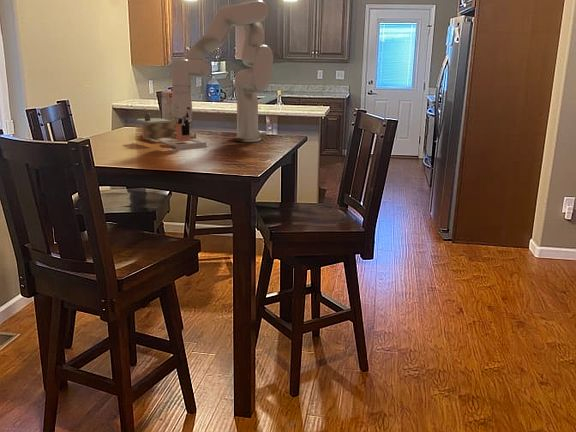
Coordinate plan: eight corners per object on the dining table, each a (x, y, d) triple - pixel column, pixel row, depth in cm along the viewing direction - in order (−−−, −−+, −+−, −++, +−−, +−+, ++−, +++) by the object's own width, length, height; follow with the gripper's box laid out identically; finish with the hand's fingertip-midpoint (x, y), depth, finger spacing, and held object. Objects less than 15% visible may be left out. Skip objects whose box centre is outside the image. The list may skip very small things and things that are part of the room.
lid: (157, 119, 251) (157, 111, 250) (171, 122, 241) (170, 113, 240) (136, 120, 244) (136, 112, 243) (149, 123, 235) (149, 114, 234)
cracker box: (180, 137, 262) (179, 92, 256) (167, 138, 260) (165, 92, 254) (174, 133, 275) (173, 90, 269) (162, 134, 272) (160, 90, 267)
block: (185, 139, 239) (184, 123, 237) (189, 140, 236) (189, 124, 234) (176, 140, 236) (176, 123, 234) (181, 141, 233) (180, 124, 231)
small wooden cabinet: (186, 137, 262) (186, 118, 259) (200, 141, 252) (200, 121, 250) (142, 141, 249) (141, 121, 246) (156, 145, 239) (155, 124, 236)
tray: (189, 143, 246) (189, 138, 246) (206, 147, 236) (206, 142, 235) (160, 145, 238) (160, 140, 237) (176, 150, 227) (176, 144, 227)
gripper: (164, 89, 234) (165, 132, 239) (183, 91, 222) (185, 137, 227) (180, 88, 239) (181, 131, 244) (200, 90, 226) (201, 136, 231)
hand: (183, 134), depth 235 cm, fingers closed on block, 3 cm apart
